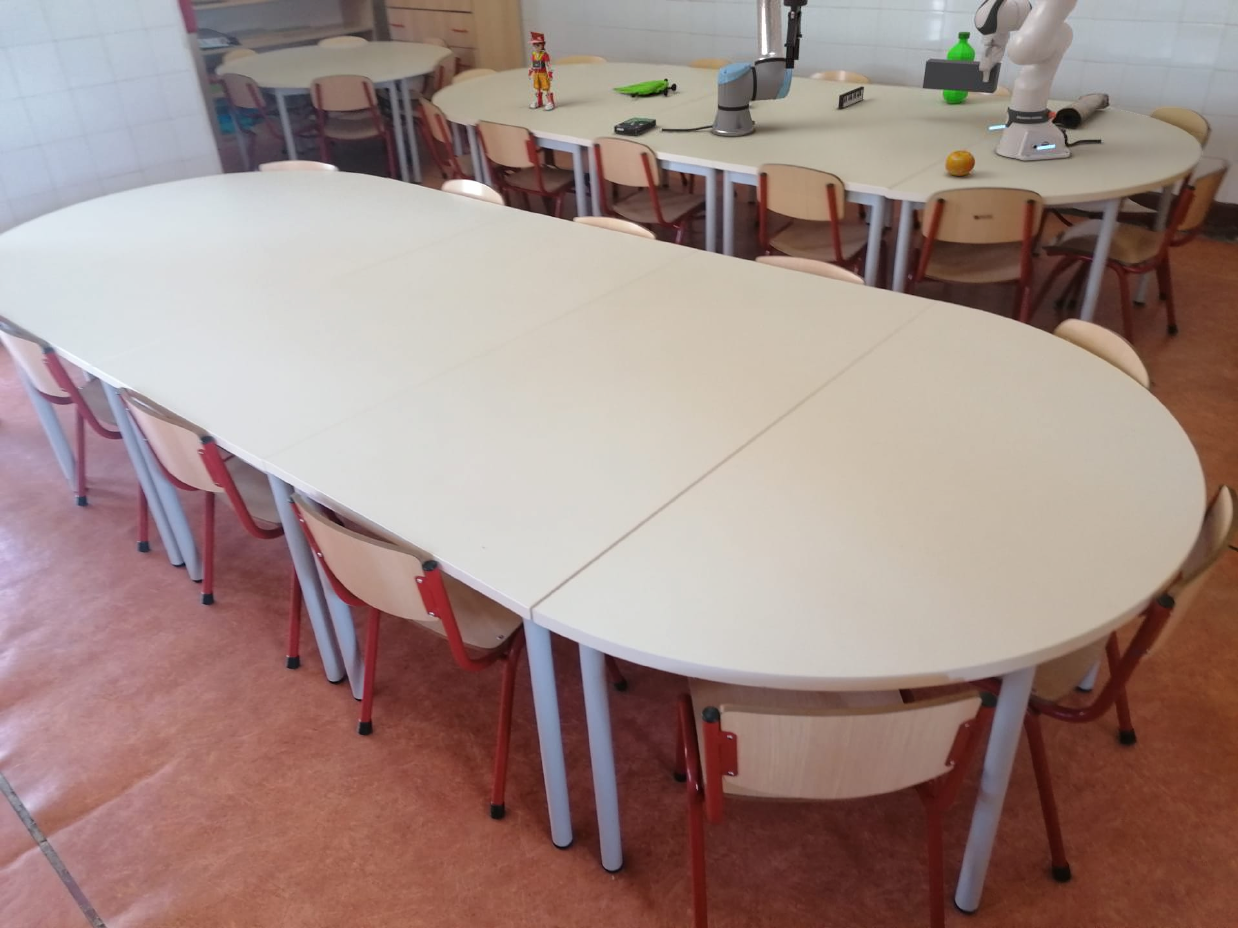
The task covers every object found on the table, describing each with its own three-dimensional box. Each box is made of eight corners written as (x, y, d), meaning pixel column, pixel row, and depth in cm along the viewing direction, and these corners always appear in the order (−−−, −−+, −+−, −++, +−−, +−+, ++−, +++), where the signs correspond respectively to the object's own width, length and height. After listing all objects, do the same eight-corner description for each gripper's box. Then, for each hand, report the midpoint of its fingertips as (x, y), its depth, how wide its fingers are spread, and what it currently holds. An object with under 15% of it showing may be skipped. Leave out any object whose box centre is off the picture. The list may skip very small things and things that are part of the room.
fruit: (939, 166, 278) (957, 142, 275) (940, 168, 286) (957, 145, 283) (962, 181, 277) (980, 158, 274) (962, 183, 285) (979, 160, 282)
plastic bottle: (973, 101, 354) (984, 32, 339) (955, 106, 349) (966, 36, 335) (952, 97, 361) (962, 29, 346) (934, 102, 356) (944, 33, 342)
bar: (922, 88, 330) (926, 61, 325) (926, 85, 334) (930, 58, 329) (992, 93, 319) (997, 65, 314) (996, 90, 322) (1001, 62, 317)
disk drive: (637, 136, 338) (656, 126, 348) (636, 129, 336) (656, 118, 346) (613, 134, 342) (633, 123, 352) (613, 126, 341) (633, 116, 351)
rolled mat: (1076, 98, 337) (1101, 81, 329) (1090, 118, 338) (1115, 102, 330) (1045, 119, 320) (1071, 102, 312) (1060, 141, 321) (1085, 124, 312)
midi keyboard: (840, 109, 355) (842, 95, 352) (838, 108, 355) (839, 95, 353) (863, 99, 365) (864, 86, 362) (860, 99, 366) (861, 86, 363)
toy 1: (525, 109, 381) (517, 32, 364) (534, 104, 388) (527, 28, 371) (550, 110, 377) (543, 32, 360) (559, 105, 384) (553, 28, 367)
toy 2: (686, 85, 398) (631, 84, 414) (685, 72, 395) (629, 72, 411) (651, 104, 381) (596, 103, 397) (650, 92, 378) (594, 91, 394)
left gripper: (804, -3, 270) (799, 72, 282) (812, -15, 290) (807, 56, 302) (779, -3, 272) (775, 72, 284) (788, -14, 292) (785, 56, 304)
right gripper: (997, 43, 303) (990, 86, 311) (1011, 33, 317) (1003, 74, 325) (978, 42, 306) (971, 85, 314) (992, 32, 320) (985, 73, 328)
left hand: (792, 64), depth 293 cm, fingers open, 13 cm apart
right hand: (988, 79), depth 320 cm, fingers closed on bar, 5 cm apart
